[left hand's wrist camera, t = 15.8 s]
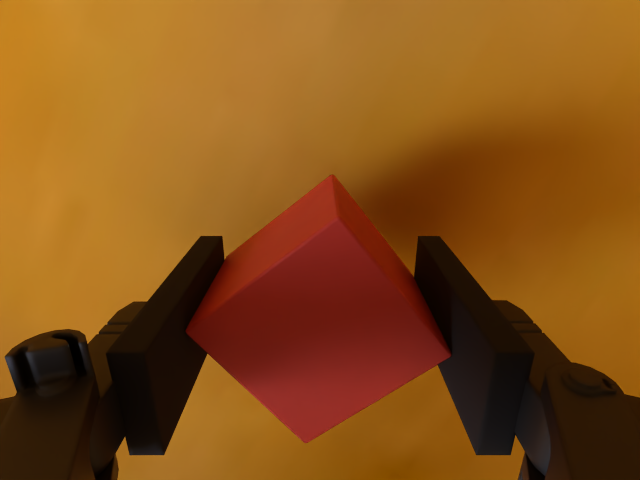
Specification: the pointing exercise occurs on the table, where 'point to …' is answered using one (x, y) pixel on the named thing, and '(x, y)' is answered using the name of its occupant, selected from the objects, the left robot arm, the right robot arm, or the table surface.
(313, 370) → the block
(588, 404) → the left robot arm
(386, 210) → the table surface
